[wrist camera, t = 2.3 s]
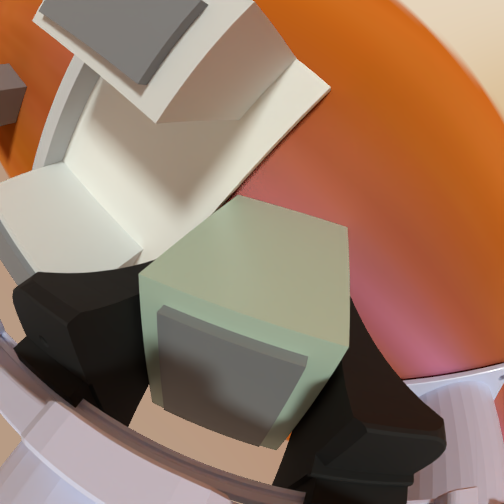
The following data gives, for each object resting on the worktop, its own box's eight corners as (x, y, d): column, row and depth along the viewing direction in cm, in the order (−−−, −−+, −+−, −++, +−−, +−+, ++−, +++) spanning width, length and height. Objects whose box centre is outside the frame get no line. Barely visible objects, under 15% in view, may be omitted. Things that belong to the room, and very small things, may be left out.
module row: (331, 89, 8) (322, 43, 3) (149, 293, 15) (80, 364, 10) (155, -21, 8) (59, -59, 2) (49, 181, 14) (-28, 215, 9)
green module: (347, 227, 11) (348, 357, 5) (307, 330, 13) (274, 457, 7) (237, 194, 11) (130, 280, 5) (219, 301, 14) (148, 408, 8)
